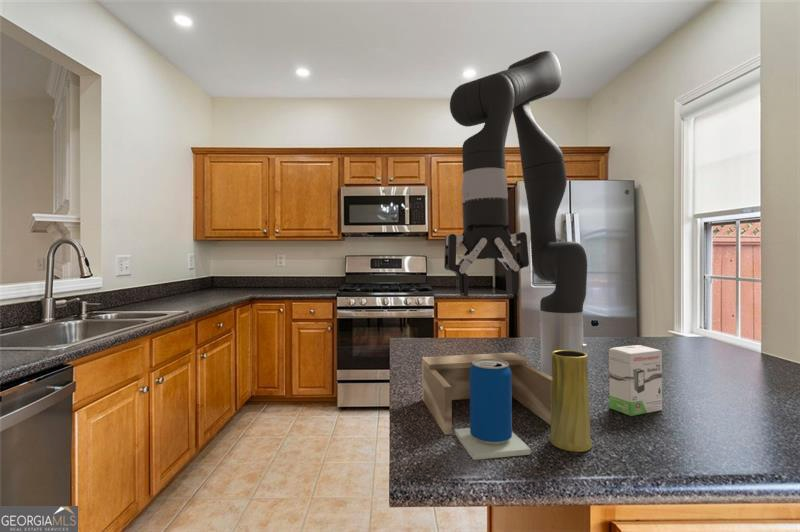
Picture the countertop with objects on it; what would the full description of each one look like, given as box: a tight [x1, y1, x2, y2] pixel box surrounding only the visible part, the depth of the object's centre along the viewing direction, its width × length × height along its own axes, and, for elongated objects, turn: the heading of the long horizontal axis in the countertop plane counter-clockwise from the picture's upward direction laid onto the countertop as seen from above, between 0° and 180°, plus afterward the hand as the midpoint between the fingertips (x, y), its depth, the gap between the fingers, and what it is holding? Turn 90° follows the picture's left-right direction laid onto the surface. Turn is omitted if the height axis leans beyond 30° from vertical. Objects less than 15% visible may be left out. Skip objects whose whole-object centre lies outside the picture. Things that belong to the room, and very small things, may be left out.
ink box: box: [608, 344, 663, 417], centre depth 77 cm, size 9×5×12 cm, turn 110°
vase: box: [549, 350, 593, 453], centre depth 63 cm, size 6×6×14 cm
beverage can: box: [469, 359, 513, 445], centre depth 63 cm, size 6×6×12 cm
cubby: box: [421, 352, 552, 436], centre depth 77 cm, size 20×17×9 cm
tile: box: [454, 427, 532, 461], centre depth 63 cm, size 9×9×1 cm
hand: (487, 294), depth 67 cm, fingers open, 8 cm apart
